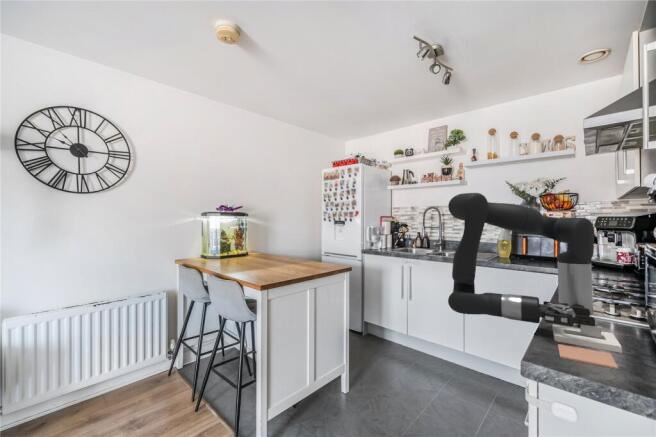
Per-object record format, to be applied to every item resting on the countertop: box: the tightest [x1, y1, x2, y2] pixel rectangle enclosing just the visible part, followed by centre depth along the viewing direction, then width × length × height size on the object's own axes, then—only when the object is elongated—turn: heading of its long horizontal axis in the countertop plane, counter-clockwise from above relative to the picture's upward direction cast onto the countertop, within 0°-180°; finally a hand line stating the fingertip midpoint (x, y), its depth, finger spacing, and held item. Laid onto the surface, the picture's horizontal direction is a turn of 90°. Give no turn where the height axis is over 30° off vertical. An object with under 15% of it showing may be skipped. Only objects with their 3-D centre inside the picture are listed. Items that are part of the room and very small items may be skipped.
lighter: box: [566, 308, 602, 339], centre depth 79 cm, size 7×2×8 cm, turn 46°
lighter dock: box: [552, 323, 623, 354], centre depth 79 cm, size 10×13×2 cm
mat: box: [557, 343, 619, 370], centre depth 69 cm, size 8×10×1 cm
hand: (592, 317), depth 78 cm, fingers open, 8 cm apart
